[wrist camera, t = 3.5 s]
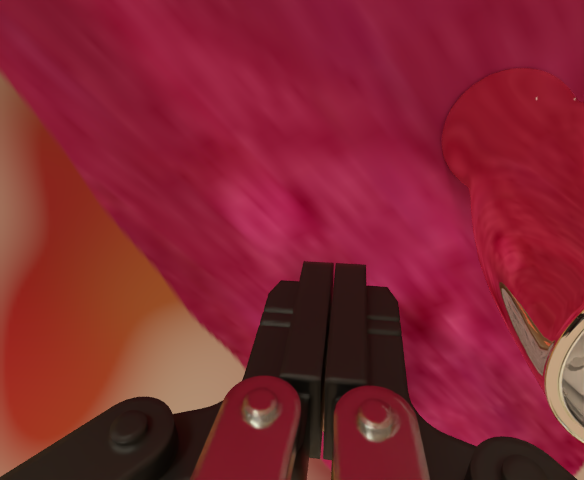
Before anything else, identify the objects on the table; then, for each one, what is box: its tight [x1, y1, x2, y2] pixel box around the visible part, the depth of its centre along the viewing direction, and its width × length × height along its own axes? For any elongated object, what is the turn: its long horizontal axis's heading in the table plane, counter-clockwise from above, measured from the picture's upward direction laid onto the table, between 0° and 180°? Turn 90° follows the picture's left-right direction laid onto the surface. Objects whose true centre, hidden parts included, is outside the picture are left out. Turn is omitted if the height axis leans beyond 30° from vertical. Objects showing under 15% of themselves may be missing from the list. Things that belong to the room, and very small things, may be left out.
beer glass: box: [442, 68, 584, 443], centre depth 14 cm, size 7×7×15 cm
